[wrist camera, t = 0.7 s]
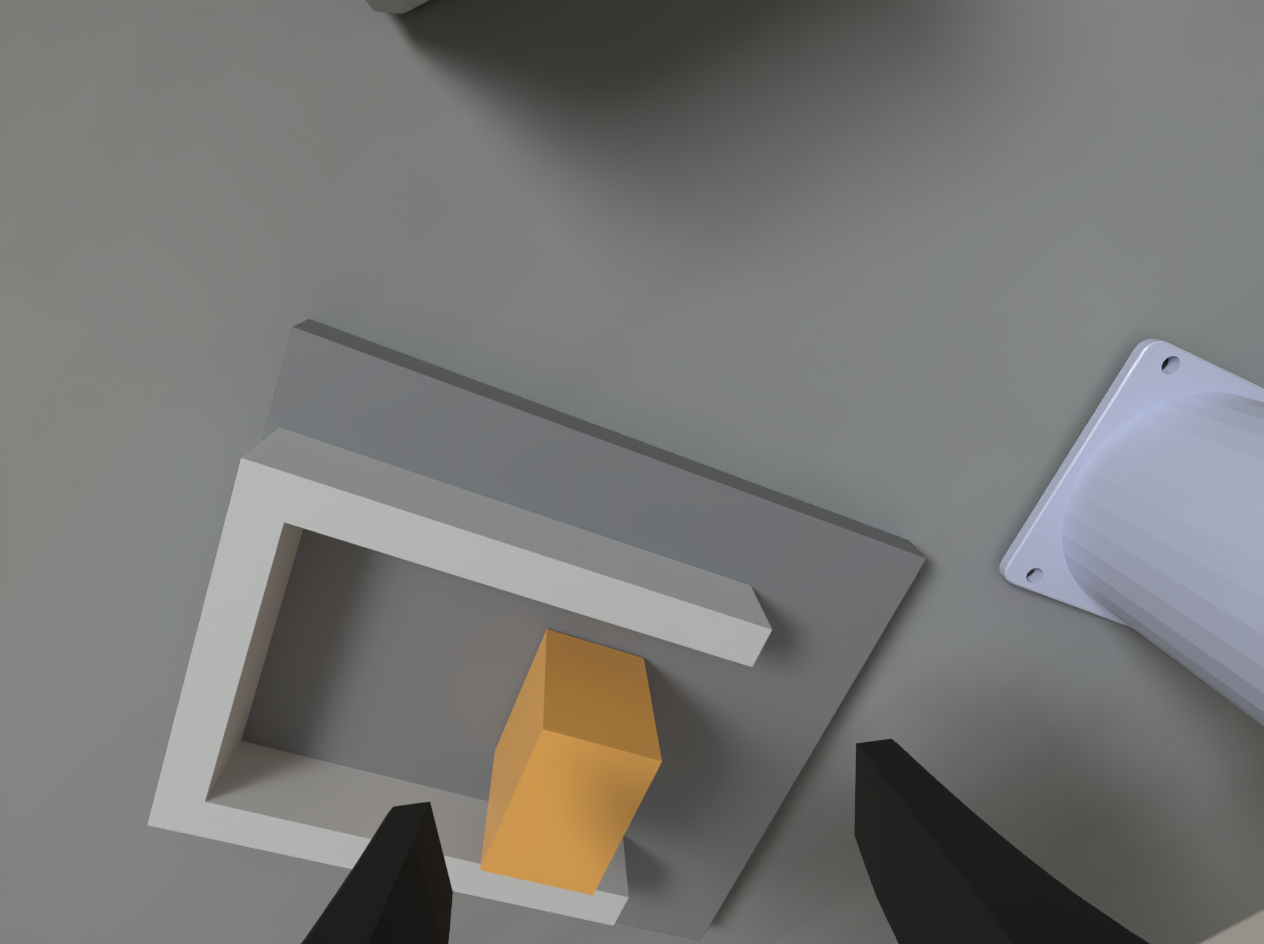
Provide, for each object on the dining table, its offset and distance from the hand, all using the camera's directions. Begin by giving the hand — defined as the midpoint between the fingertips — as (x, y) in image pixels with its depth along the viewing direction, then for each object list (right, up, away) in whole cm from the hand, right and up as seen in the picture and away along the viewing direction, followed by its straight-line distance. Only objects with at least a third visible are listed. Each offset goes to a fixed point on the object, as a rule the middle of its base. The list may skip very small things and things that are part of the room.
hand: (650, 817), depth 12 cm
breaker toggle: (-2, -1, +9) cm, 10 cm away
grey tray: (-3, 0, +10) cm, 11 cm away
